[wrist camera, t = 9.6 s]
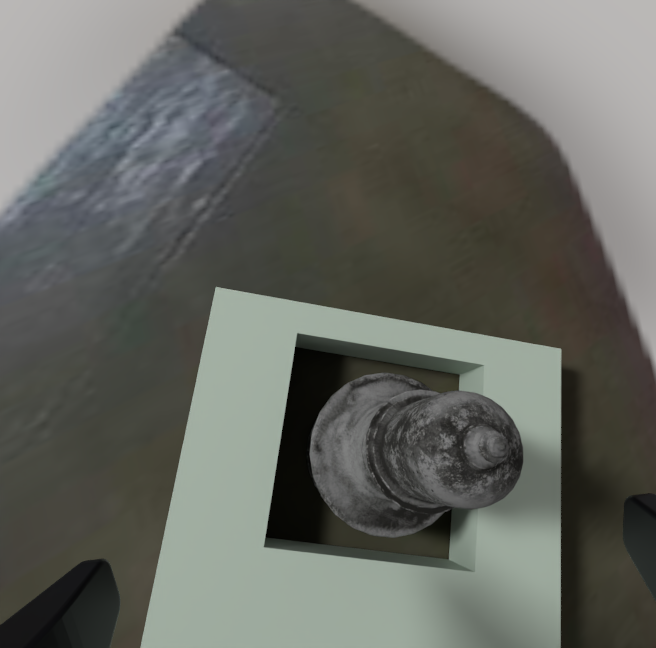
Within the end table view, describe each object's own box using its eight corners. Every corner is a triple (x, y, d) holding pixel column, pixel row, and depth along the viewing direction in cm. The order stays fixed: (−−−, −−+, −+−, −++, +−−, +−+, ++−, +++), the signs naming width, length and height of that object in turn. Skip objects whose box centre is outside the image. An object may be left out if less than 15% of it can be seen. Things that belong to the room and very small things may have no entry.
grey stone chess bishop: (339, 361, 23) (437, 262, 11) (451, 426, 23) (663, 393, 11) (273, 482, 21) (312, 510, 9) (395, 551, 21) (580, 662, 9)
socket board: (521, 753, 20) (560, 793, 17) (132, 725, 18) (115, 766, 16) (529, 359, 24) (561, 348, 22) (218, 305, 22) (216, 287, 20)
